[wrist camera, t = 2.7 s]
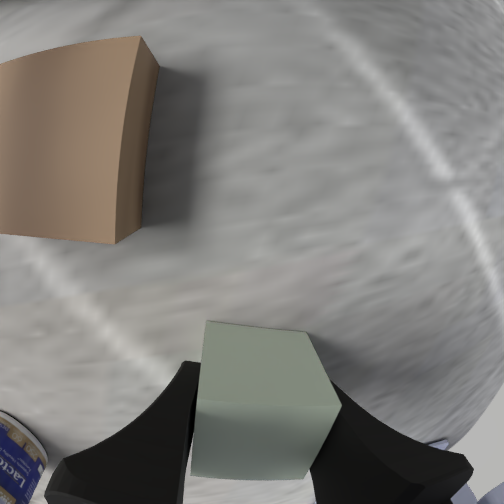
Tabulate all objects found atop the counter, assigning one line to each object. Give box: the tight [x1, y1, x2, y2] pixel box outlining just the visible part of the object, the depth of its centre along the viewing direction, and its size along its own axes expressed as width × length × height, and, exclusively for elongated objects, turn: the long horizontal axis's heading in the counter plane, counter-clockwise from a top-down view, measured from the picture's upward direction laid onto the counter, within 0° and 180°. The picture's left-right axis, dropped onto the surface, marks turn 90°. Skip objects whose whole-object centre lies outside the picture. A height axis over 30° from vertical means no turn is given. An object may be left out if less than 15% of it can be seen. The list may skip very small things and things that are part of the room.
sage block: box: [190, 321, 342, 480], centre depth 10 cm, size 4×4×4 cm
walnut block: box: [0, 36, 160, 244], centre depth 8 cm, size 6×6×3 cm
